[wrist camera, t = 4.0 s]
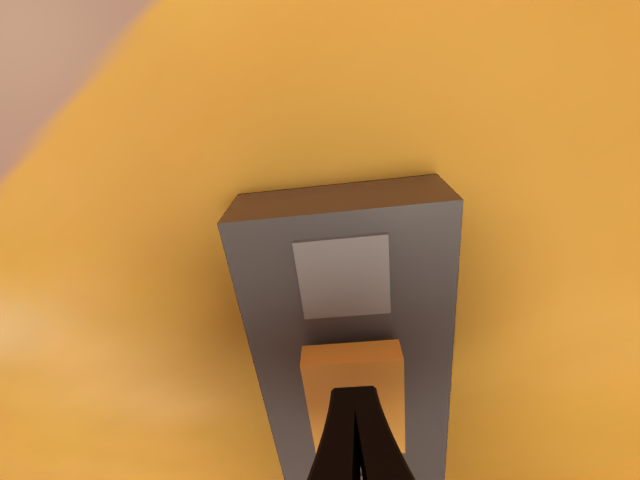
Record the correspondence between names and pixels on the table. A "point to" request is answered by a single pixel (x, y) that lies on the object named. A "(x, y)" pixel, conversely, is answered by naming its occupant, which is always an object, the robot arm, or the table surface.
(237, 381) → the table surface
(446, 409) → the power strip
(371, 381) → the block
